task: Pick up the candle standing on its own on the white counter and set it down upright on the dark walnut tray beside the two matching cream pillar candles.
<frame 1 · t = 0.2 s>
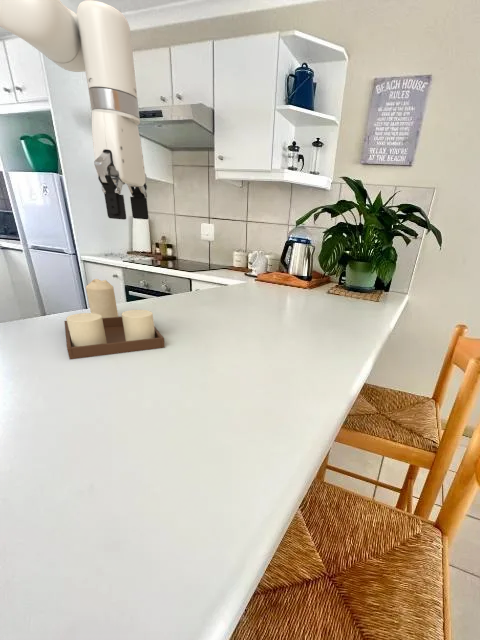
hand: (129, 218, 64), 23 cm above the countertop, tool pointing down, fingers open, 9 cm apart
tray: (114, 341, 67), on the countertop
cream candle left: (90, 347, 62), point 1 cm above the countertop, touching tray
candle: (106, 323, 77), on the countertop
cream candle right: (141, 342, 66), point 1 cm above the countertop, touching tray
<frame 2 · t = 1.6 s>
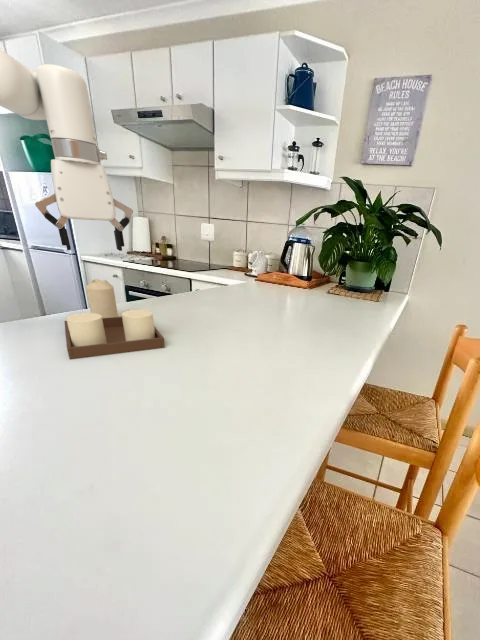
hand: (95, 249, 70), 16 cm above the countertop, tool pointing down, fingers open, 9 cm apart
nothing on the countertop moved.
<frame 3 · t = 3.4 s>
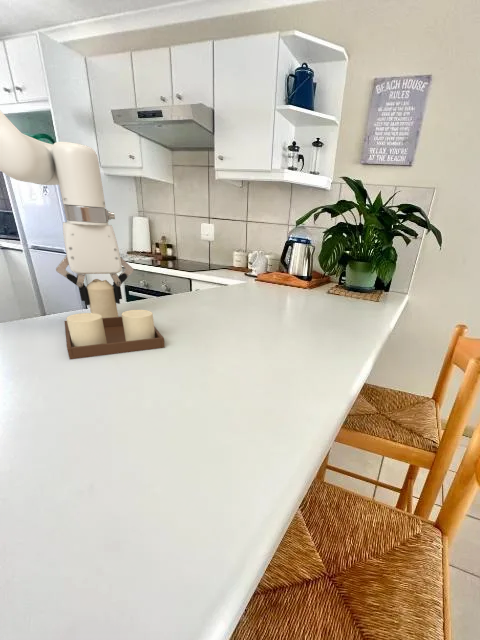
hand: (102, 302, 75), 5 cm above the countertop, tool pointing down, fingers closed on candle, 5 cm apart
candle: (106, 323, 77), on the countertop, touching gripper
everything else where it was.
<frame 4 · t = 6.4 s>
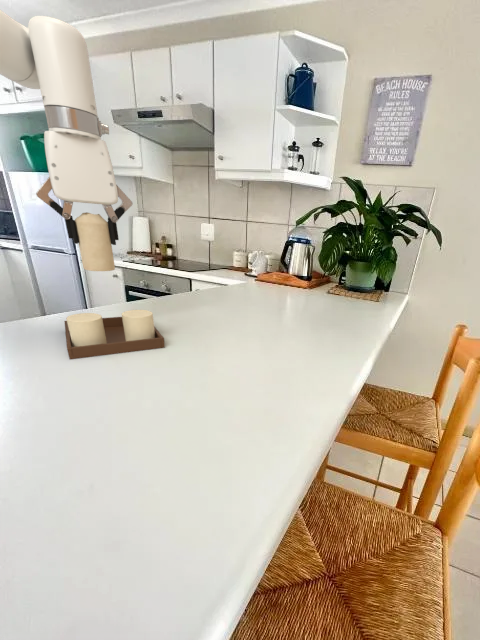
hand: (95, 242, 62), 19 cm above the countertop, tool pointing down, fingers closed on candle, 5 cm apart
candle: (99, 270, 64), point 14 cm above the countertop, touching gripper
everything else where it was.
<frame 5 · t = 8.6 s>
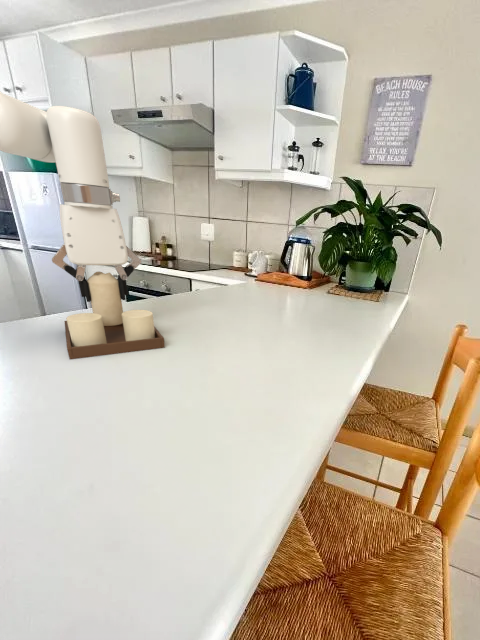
hand: (105, 298, 66), 8 cm above the countertop, tool pointing down, fingers closed on candle, 5 cm apart
candle: (110, 323, 68), point 3 cm above the countertop, touching gripper
everything else where it was.
when the fingers open (6 cm above the countertop, at t = 9.8 s): candle stays where it is, resting on tray.
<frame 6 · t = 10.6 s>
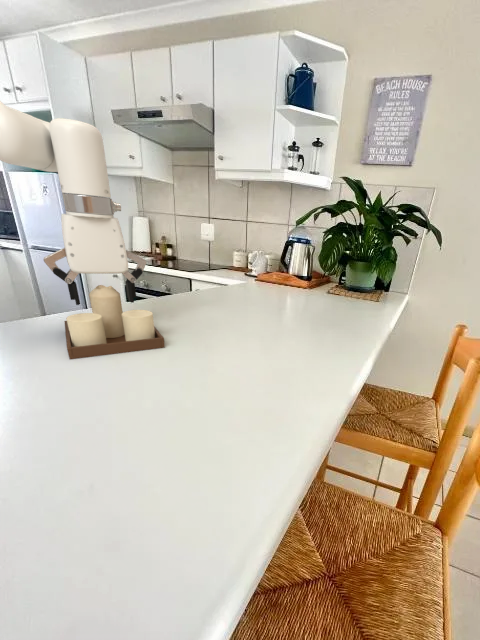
hand: (105, 302, 66), 8 cm above the countertop, tool pointing down, fingers open, 9 cm apart
candle: (111, 335, 69), point 1 cm above the countertop, touching tray
everything else where it was.
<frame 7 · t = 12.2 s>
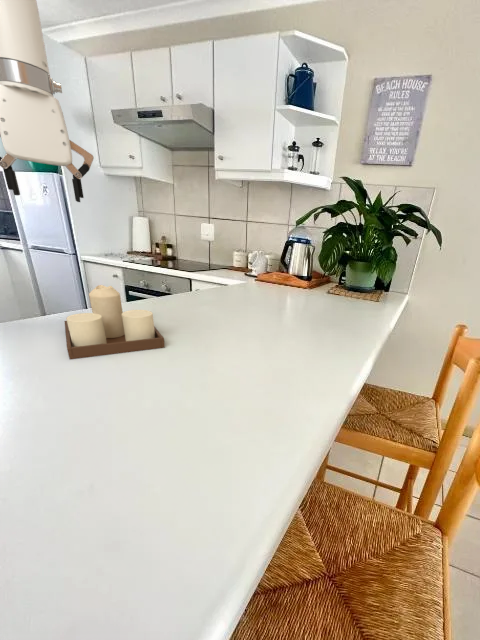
hand: (48, 198, 62), 26 cm above the countertop, tool pointing down, fingers open, 9 cm apart
nothing on the countertop moved.
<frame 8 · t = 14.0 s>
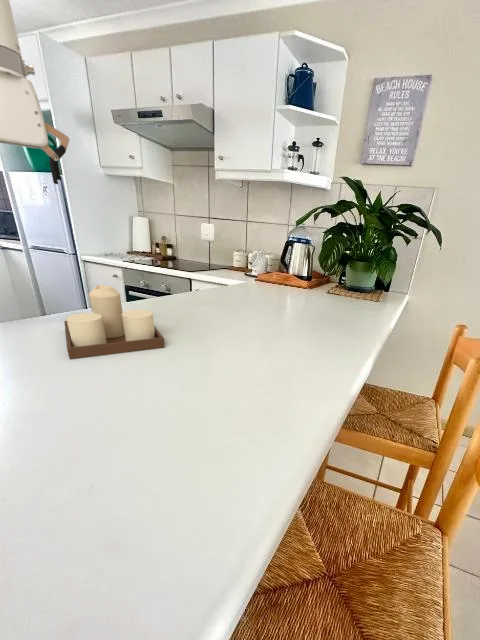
hand: (26, 180, 64), 28 cm above the countertop, tool pointing down, fingers open, 9 cm apart
nothing on the countertop moved.
at the end: candle inside the target area in the tray (0.2 cm from its centre), point 0.6 cm above the tray's base; candle tilted 0°; cream candle left moved 0.0 cm from its start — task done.
